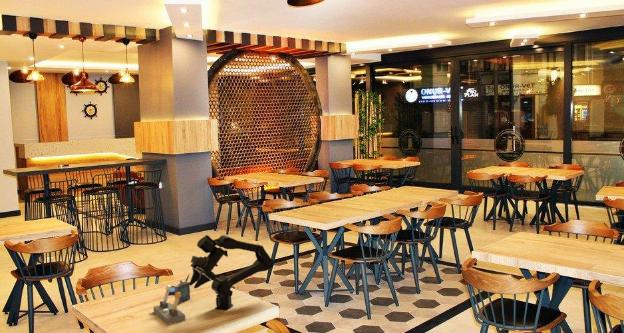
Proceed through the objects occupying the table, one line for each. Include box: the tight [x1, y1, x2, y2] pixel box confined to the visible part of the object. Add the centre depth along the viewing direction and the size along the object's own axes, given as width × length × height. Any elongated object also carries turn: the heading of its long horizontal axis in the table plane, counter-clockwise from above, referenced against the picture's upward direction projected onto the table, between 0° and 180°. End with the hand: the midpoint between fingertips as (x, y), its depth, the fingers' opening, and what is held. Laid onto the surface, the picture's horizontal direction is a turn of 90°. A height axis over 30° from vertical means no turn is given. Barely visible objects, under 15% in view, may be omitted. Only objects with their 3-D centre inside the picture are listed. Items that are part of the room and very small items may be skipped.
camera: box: [168, 274, 190, 296], centre depth 293 cm, size 12×11×7 cm
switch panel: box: [152, 300, 186, 325], centre depth 257 cm, size 20×8×5 cm, turn 34°
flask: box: [173, 279, 191, 305], centre depth 276 cm, size 9×3×11 cm, turn 146°
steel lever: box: [162, 284, 172, 304], centre depth 262 cm, size 3×3×10 cm
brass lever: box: [171, 292, 181, 313], centre depth 252 cm, size 3×3×10 cm
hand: (192, 286), depth 255 cm, fingers open, 5 cm apart
